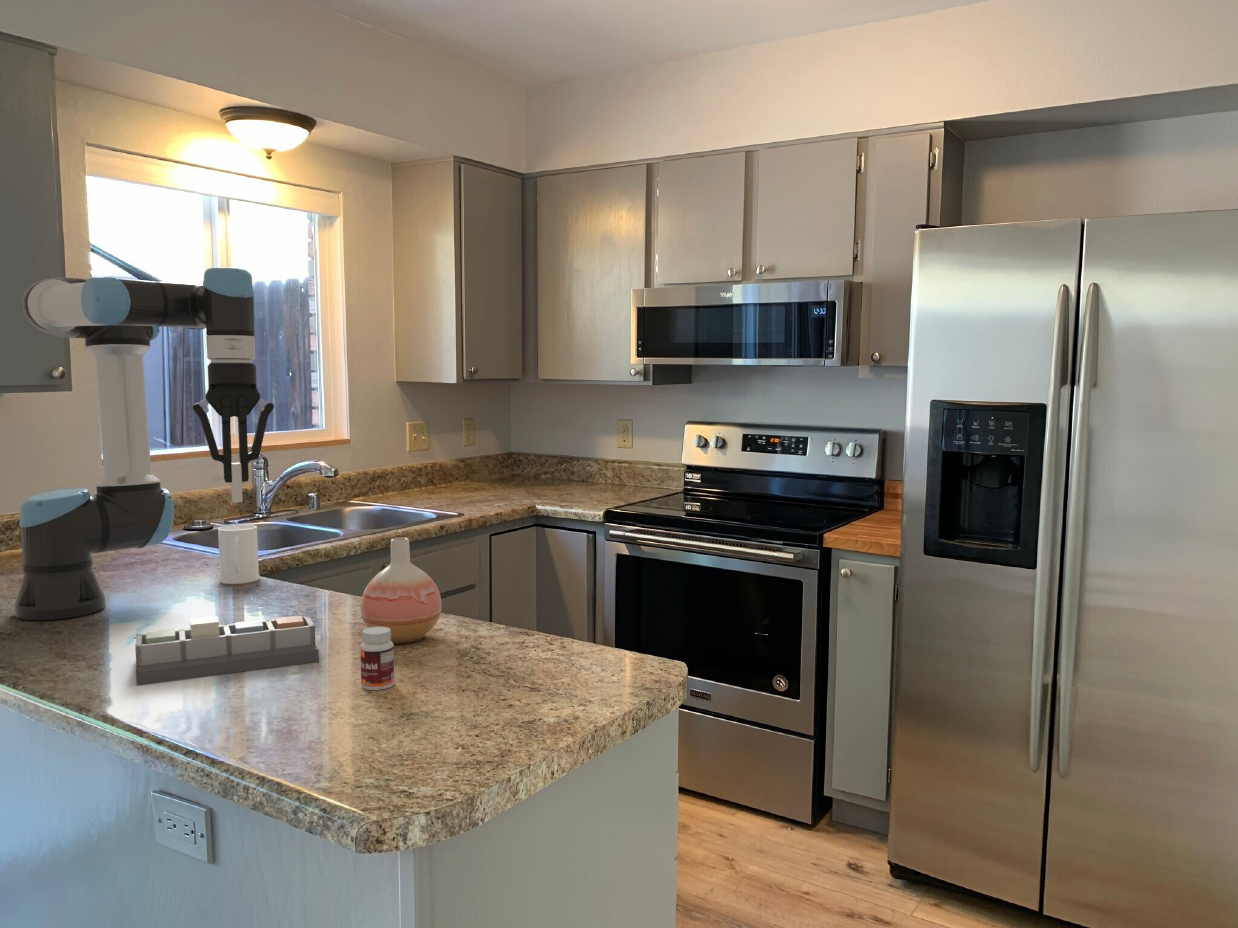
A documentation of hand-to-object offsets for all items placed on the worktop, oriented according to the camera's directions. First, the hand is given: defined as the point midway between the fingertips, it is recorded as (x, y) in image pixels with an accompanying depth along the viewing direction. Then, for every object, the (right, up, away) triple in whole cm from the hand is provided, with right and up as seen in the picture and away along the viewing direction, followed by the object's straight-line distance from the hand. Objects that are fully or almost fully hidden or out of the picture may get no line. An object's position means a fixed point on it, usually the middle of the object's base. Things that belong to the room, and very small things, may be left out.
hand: (237, 501), depth 159 cm
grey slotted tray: (+2, -25, -9) cm, 27 cm away
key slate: (+5, -23, -8) cm, 24 cm away
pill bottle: (+29, -27, -21) cm, 45 cm away
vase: (+27, -24, +3) cm, 37 cm away
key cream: (-1, -21, -11) cm, 24 cm away
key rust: (+11, -22, -5) cm, 25 cm away
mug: (-20, -20, +49) cm, 57 cm away
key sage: (-6, -23, -13) cm, 27 cm away
